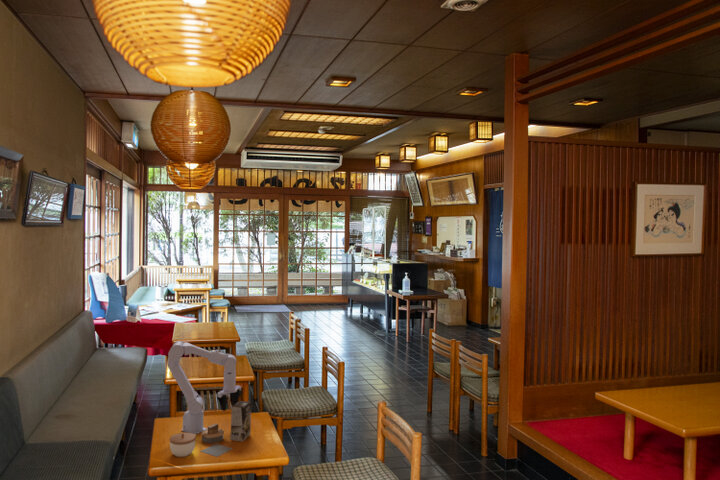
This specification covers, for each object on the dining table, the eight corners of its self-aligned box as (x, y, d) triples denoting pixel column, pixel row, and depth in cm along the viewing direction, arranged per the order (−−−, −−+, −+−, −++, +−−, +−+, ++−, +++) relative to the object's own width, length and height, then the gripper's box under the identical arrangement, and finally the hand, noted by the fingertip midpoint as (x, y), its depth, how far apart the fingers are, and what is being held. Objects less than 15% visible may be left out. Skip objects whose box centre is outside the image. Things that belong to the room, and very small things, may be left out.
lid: (197, 434, 253) (197, 426, 253) (212, 428, 262) (212, 420, 261) (213, 439, 248) (213, 431, 248) (228, 432, 257) (228, 424, 257)
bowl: (197, 441, 253) (197, 435, 253) (212, 434, 261) (212, 428, 261) (212, 445, 248) (212, 439, 248) (227, 438, 257) (227, 432, 257)
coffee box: (243, 442, 253) (244, 407, 253) (230, 440, 255) (230, 406, 254) (251, 435, 262) (251, 401, 262) (238, 433, 263) (239, 400, 263)
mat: (199, 452, 241) (199, 451, 241) (216, 444, 250) (216, 443, 250) (217, 457, 236) (217, 456, 236) (233, 449, 245) (233, 448, 245)
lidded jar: (195, 458, 235) (195, 437, 234) (168, 461, 232) (169, 439, 231) (195, 448, 245) (195, 427, 245) (169, 450, 242) (170, 429, 242)
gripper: (225, 385, 259) (225, 414, 260) (246, 378, 272) (245, 405, 273) (214, 383, 263) (213, 411, 263) (235, 375, 276) (234, 402, 276)
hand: (229, 408), depth 268 cm, fingers open, 7 cm apart
